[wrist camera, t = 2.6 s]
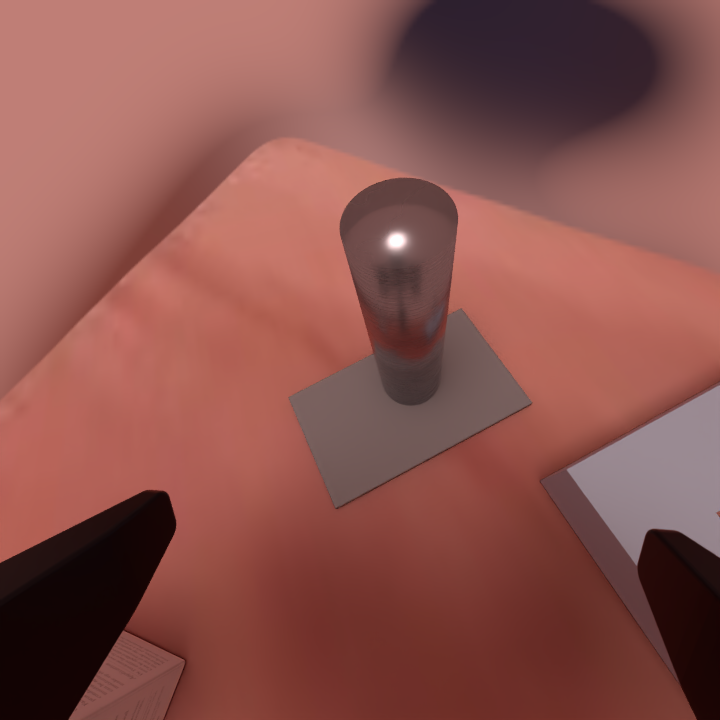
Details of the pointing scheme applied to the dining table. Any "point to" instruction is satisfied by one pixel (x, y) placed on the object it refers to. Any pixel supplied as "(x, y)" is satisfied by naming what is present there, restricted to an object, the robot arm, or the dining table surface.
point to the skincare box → (131, 683)
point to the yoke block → (646, 495)
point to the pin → (403, 279)
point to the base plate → (403, 414)
